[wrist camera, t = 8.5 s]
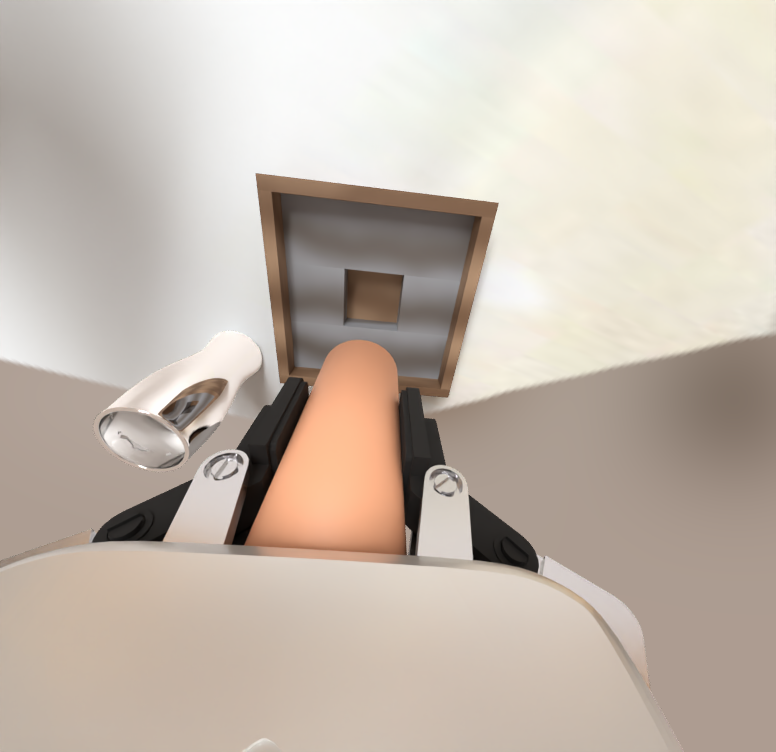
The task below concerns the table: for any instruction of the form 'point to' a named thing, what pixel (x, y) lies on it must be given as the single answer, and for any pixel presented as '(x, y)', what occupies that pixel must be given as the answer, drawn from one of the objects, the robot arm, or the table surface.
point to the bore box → (371, 274)
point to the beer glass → (178, 405)
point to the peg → (341, 462)
